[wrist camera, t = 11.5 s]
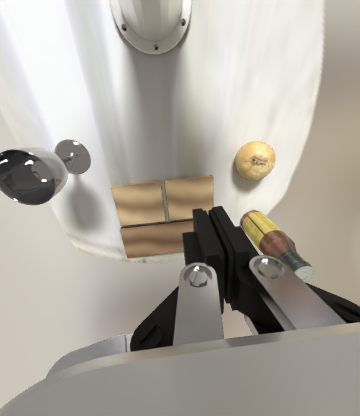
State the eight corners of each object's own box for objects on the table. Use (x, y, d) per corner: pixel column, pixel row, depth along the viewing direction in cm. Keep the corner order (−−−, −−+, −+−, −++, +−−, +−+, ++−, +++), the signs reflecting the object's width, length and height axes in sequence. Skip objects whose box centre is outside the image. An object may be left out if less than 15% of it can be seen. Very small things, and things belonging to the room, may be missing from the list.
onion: (272, 143, 41) (292, 148, 34) (259, 177, 44) (275, 188, 38) (237, 136, 40) (251, 140, 33) (227, 172, 43) (238, 182, 37)
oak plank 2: (164, 179, 43) (164, 181, 42) (211, 174, 43) (213, 176, 42) (169, 218, 47) (169, 220, 46) (212, 213, 47) (213, 215, 46)
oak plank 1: (112, 185, 43) (111, 186, 41) (160, 180, 43) (160, 181, 42) (121, 223, 47) (120, 226, 46) (165, 218, 47) (165, 221, 46)
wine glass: (100, 161, 40) (67, 184, 26) (74, 182, 41) (31, 215, 28) (70, 128, 37) (15, 136, 23) (43, 153, 38) (-22, 173, 25)
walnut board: (121, 227, 47) (119, 230, 46) (214, 217, 48) (215, 219, 47) (128, 254, 51) (127, 257, 50) (214, 244, 52) (215, 247, 51)
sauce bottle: (248, 233, 51) (292, 296, 33) (235, 219, 49) (275, 279, 31) (268, 218, 49) (326, 276, 31) (256, 203, 47) (311, 256, 29)
